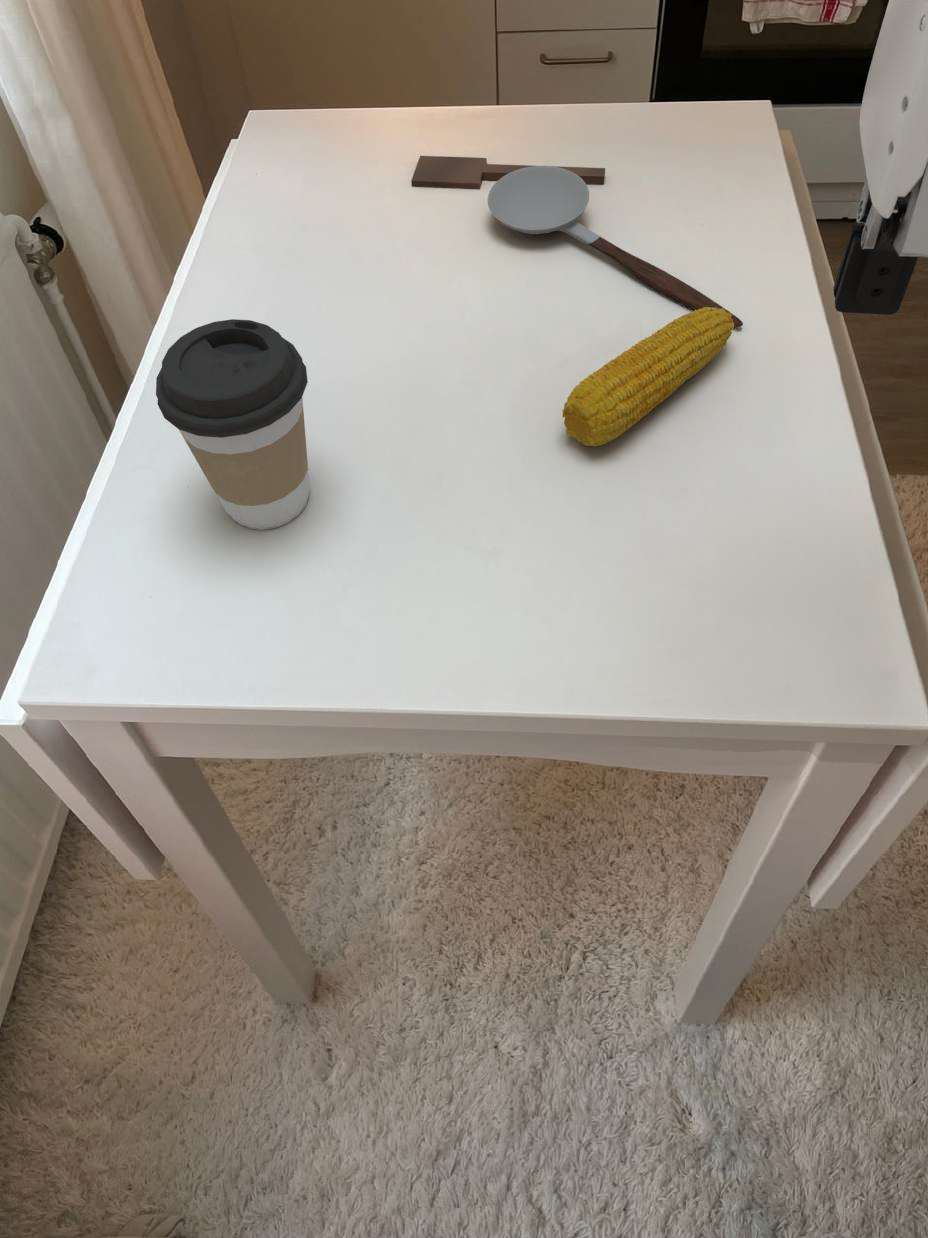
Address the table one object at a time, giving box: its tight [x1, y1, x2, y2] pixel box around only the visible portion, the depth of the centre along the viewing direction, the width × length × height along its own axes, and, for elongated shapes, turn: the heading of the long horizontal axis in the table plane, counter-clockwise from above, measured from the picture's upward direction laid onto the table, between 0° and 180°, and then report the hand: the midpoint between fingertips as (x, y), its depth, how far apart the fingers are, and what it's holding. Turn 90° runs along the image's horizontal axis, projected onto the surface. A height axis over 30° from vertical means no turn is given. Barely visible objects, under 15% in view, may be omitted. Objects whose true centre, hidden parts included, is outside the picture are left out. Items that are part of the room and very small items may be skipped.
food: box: [562, 307, 735, 447], centre depth 85 cm, size 21×6×6 cm, turn 136°
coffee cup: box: [155, 318, 311, 531], centre depth 76 cm, size 11×11×15 cm
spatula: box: [411, 155, 606, 190], centre depth 110 cm, size 22×6×1 cm, turn 81°
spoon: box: [487, 165, 744, 328], centre depth 99 cm, size 11×33×3 cm, turn 42°
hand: (864, 303), depth 51 cm, fingers closed
